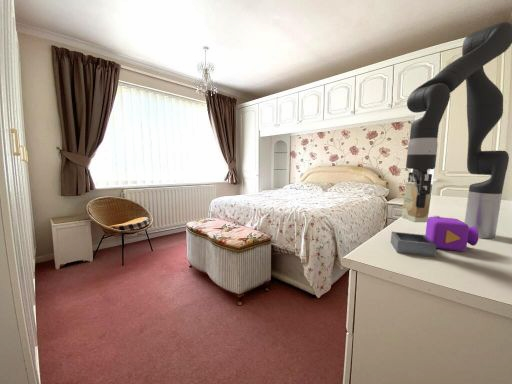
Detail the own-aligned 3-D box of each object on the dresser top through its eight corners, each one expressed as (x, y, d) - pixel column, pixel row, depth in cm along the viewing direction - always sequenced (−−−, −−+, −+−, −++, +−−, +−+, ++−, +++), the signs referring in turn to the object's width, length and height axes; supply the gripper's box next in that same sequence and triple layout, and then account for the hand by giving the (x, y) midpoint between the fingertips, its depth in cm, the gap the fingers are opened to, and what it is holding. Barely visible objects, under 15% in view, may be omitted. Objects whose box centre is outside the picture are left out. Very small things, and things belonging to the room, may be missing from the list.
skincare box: (400, 217, 77) (404, 181, 76) (412, 217, 78) (416, 181, 76) (415, 222, 71) (419, 183, 69) (428, 222, 71) (433, 183, 70)
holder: (390, 242, 82) (391, 231, 82) (423, 246, 79) (425, 234, 78) (397, 252, 73) (398, 240, 72) (434, 257, 69) (436, 244, 69)
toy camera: (485, 254, 72) (489, 224, 71) (435, 251, 75) (439, 221, 73) (461, 243, 82) (465, 215, 81) (419, 240, 85) (422, 213, 84)
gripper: (446, 152, 64) (438, 210, 66) (427, 154, 77) (422, 202, 79) (414, 152, 66) (408, 208, 68) (401, 154, 80) (397, 201, 82)
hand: (415, 205), depth 74 cm, fingers closed on skincare box, 7 cm apart
